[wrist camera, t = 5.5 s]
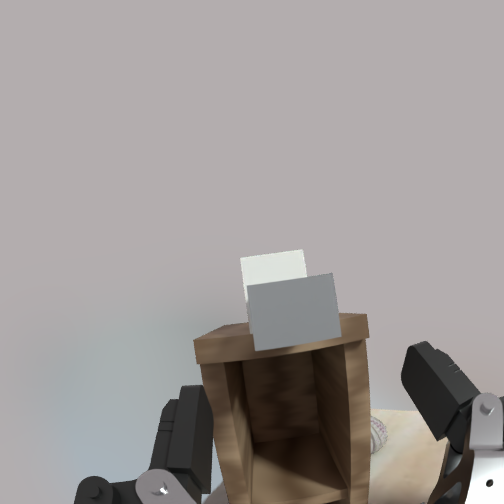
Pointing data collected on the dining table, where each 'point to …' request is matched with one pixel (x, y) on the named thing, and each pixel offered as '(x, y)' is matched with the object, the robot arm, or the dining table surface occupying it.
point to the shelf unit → (290, 415)
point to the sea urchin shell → (377, 434)
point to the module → (288, 301)
